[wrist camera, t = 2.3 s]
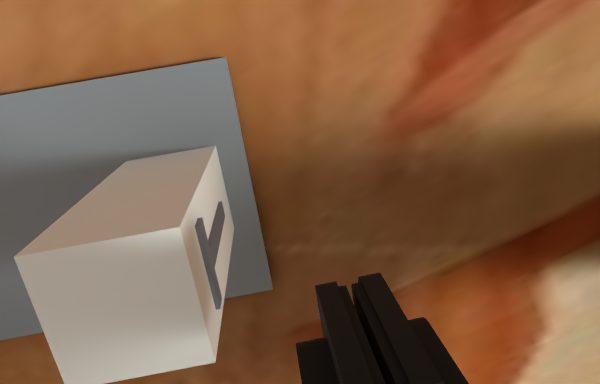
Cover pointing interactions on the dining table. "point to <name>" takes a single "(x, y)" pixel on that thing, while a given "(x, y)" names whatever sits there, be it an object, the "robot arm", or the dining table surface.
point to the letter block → (135, 271)
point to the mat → (116, 161)
